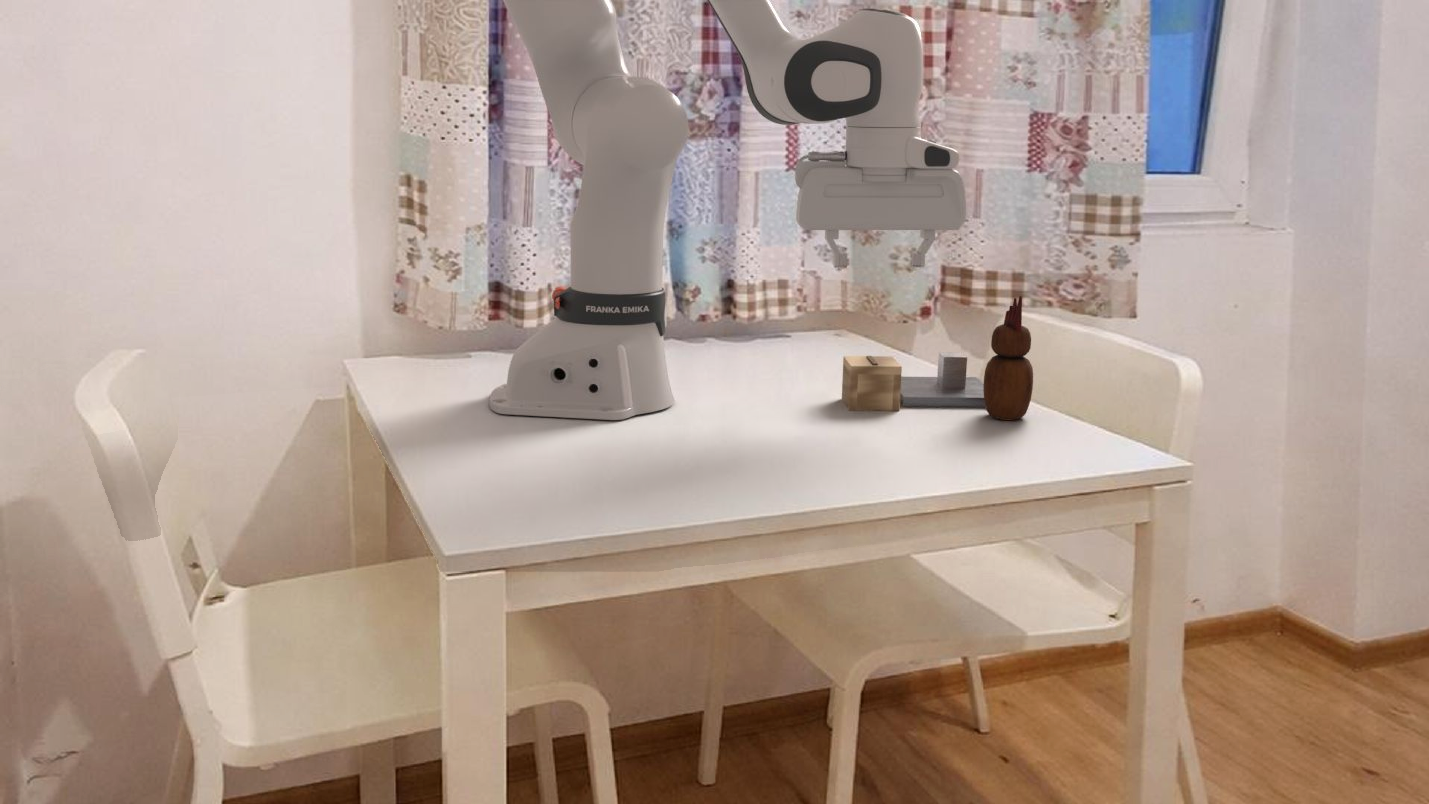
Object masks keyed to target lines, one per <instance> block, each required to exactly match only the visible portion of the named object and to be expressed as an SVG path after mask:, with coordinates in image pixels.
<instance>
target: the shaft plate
mask: <svg viewBox="0 0 1429 804" xmlns="http://www.w3.org/2000/svg"><path fill="white" fill-rule="evenodd" d="M967 365H968V356H966V355H965V353H963V352H947V351H946V352H941V351H940V352H938V361H937V376H901V391H900V405H901V406H903V408H904V407H908V408H909V407H915V408H916V407H918V408H919V407H923V408H927V407H930V408H931V407H932V408H935V407H937V408H938V407H939V408H941V407H942V408H986V406H985V400H984V389H983V386H984V382H982V381H981V380H980V379H979V378H977V376H967V370H968V369H967V368H968V367H967Z"/></svg>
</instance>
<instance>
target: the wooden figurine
mask: <svg viewBox="0 0 1429 804" xmlns="http://www.w3.org/2000/svg"><path fill="white" fill-rule="evenodd" d="M1022 311H1023V296H1022V295H1020V296H1019V297H1018V300H1017V297H1014V298H1013V303H1012V305H1009V309H1008V310H1006V312H1005V317H1004V322H1003V324H1000V325H998V326H996V327H995V329H993V332H992V335H991V340H990V341H991V342H990V346H991V347H990V348H991V350H992V351H993V352H994V353H995V354H996V355H994V356H992V357H991V358H990V359H989V360H988V362H987V363H986V367H985V369H984V376H983V384H984V386H983V389H984V400H985V406H986V407H985V409H986V410H985V411H986V412H987V413H988V415H989V416H990V417H992V418H995V419H998V420H1002V421H1015V420H1019V419H1021V418H1023V417H1024V416H1025V415H1026V414H1027V412H1028V410H1029V406H1030V403H1031V399H1032V394H1033V390H1034V370H1033V366H1032V363H1031V362H1030V360H1029V359H1028V358H1026V355H1027V354H1028V353H1029V352H1030V350H1031V347H1032V336H1031V334H1032V333H1031V331H1030V330H1029V328H1028V327H1026V326H1023V325H1022V320H1023V319H1022V314H1023V312H1022Z"/></svg>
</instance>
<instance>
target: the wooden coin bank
mask: <svg viewBox="0 0 1429 804" xmlns="http://www.w3.org/2000/svg"><path fill="white" fill-rule="evenodd" d="M842 357H843V361H842V363H843V364H842V382H841V383H842V385H841V386H842V387H841V399H842V401H843V403H844V405H845V406H846V408H847V409H848V411H887V412H889V411H891V412H892V411H900V408H901V407H900V405H901V403H900V391H901V377H902V371H903V367H902V365H901V364H900V363H899V362H898V361H897V359H895V357H894V356H884V355H883V356H881V355H880V356H878V355H877V356H876V355H873V356H872V355H864V356H863V355H856V356H855V355H843V356H842Z"/></svg>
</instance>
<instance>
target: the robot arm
mask: <svg viewBox="0 0 1429 804" xmlns="http://www.w3.org/2000/svg"><path fill="white" fill-rule="evenodd" d="M502 1H503V3H504V5H505V7H506V9H507V12H508V14H509V16H510V17H511V20H512V21H513V24H514V25H515V28H516V30H517V32H518V34H519V36H520V38H521V40H522V42H523V44H524V47H525V48H526V51H527V53H528V55H529V58H530V60H531V64H532V66H533V69H534V72H535V75H536V78H537V82H538V85H539V87H540V91H541V94H542V97H543V101H544V103H545V106H546V108H547V111H548V114H549V117H550V120H551V128H552V131H553V135H554V137H555V140H556V141H557V143H558V144H559V146H560V147H561V149H562V150H563V151H564V152H565V153H566V154H567V155H568V156H569V157H570V158H571V159H573V160H574V161H575V162H576V163H578V164H579V165H582V166H583V171H582V178H581V184H580V190H579V196H578V200H577V205H576V209H575V212H574V214H573V215H572V218H571V221H570V226H569V227H570V237H569V238H570V286H569V287H565V286H561V285H560V286H556V287H555V288H554V290H553V291H552V294H551V299H552V301H553V316H554V317H556V318H554V319H553V320H551V321H550V322H548V323H547V324H546V325H545V326H544V327H542V328H540V330H538V331H537V332H536V333H535V334H533V335H532V336H531V337H529V338H528V339H527V340H526V341H524V342H523V343H522V344H521V345H520V346H519V347H517V348H516V350H515V352H514V353H513V354H512V358H511V360H510V363H509V366H508V371H507V380H506V383H504V384H501V385H499V386H497V387H496V388H494V389H493V390H492V391H491V393H490V395H489V403H488V405H489V408H490V409H491V410H492V411H493V412H495V413H497V414H501V415H514V416H531V417H532V416H533V417H548V418H549V417H550V418H551V417H553V418H569V419H571V418H572V419H588V420H606V421H620V420H625V419H628V418H632V417H634V416H636V415H642V414H648V413H654V412H657V411H658V412H659V411H661V410H664V409H667V408H669V407H671V406H672V405H673V404H675V398H674V394H673V389H672V388H671V383H670V378H669V373H668V372H669V371H668V367H667V366H668V365H667V361H666V360H667V358H666V353H665V352H666V350H665V342H664V340H665V339H664V335H665V334H666V329H667V320H668V319H667V317H668V315H667V311H668V306H667V305H668V300H667V295H666V289H665V287H663V262H664V261H663V259H664V257H663V253H664V252H663V251H664V227H665V226H664V225H665V217H666V212H667V211H666V210H667V206H668V200H669V197H670V196H669V195H670V191H671V186H672V183H673V178H674V173H675V168H676V165H677V160H678V158H679V157H680V155H681V154H682V152H683V150H684V148H685V146H686V143H687V140H688V137H689V136H688V135H689V120H688V118H689V117H688V114H687V112H686V109H685V107H684V105H683V103H682V102H681V100H680V99H679V98H678V97H677V96H676V95H675V94H674V93H673V92H672V91H671V90H669V89H668V88H666V87H665V86H663V85H662V84H660V83H658V82H657V81H655V80H653V79H650V78H647V77H642V76H632V75H631V73H630V71H629V69H628V67H627V65H626V61H625V57H624V54H623V50H622V46H621V42H620V38H619V34H618V28H617V27H618V26H617V21H618V19H617V17H618V16H617V11H616V8H615V6H614V4H613V2H612V0H502ZM706 1H707V3H708V5H709V6H710V8H711V9H712V11H713V14H714V15H715V17H716V18H717V19H718V21H719V23H720V25H721V27H722V28H723V30H724V31H725V34H726V36H727V37H728V38H729V40H730V42H731V43H732V46H733V47H734V49H735V50H736V52H737V54H738V56H739V59H740V61H741V65H742V68H743V69H742V70H743V74H744V80H745V85H746V90H747V93H748V97H749V99H750V102H751V104H752V105H753V107H754V108H755V109H756V111H757V112H758V113H759V114H760V115H761V116H762V117H763V118H764V119H766V120H767V121H769V122H772V123H774V124H778V125H781V126H782V125H783V126H791V125H793V126H794V125H798V124H806V125H807V124H808V125H811V124H812V125H813V124H815V125H817V124H827V123H831V122H834V121H837V120H840V119H845V121H846V123H845V124H846V127H845V129H846V130H845V150H844V151H841V150H840V151H827V152H825V151H823V152H821V151H809V152H808V153H807V154H806V155H802V156H801V157H800V158H799V159H798V160H797V162H796V165H795V167H794V169H795V173H794V174H795V175H794V181H795V184H796V186H797V187H798V189H799V191H798V196H797V203H796V214H795V215H796V216H795V220H796V221H795V222H796V223H797V224H798V226H799V227H800V228H801V229H802V230H803V231H824V239H825V240H826V242H827V245H828V246H829V248H830V250H831V252H832V254H833V256H832V257H833V259H832V262H833V263H832V264H833V268H835V269H845V268H846V269H847V267H848V262H847V260H848V253H847V252H846V251H840V249H839V246H838V245H837V244H836V242H835V240H839V237H840V236H839V233H840V231H919V233H920V235H919V236H920V238H922V239H923V241H922V242H921V244H920V245H919V247H918V249H917V250H916V251H910V255H909V256H910V257H909V258H910V260H909V264H910V265H909V266H910V267H911V268H913V269H915V268H916V269H917V268H918V269H919V268H920V269H923V268H925V266H926V265H925V263H926V254H927V253H928V252H929V250H930V248H931V246H932V245H933V243H934V242H935V240H936V231H959V230H960V229H961V228H962V227H963V226H964V225H965V223H966V219H967V210H966V209H967V201H966V190H965V183H964V179H963V177H962V175H961V174H960V173H959V172H958V171H957V170H956V169H955V168H957V167H958V166H959V162H960V154H959V151H957V150H955V149H954V148H951V147H948V146H947V145H946V146H945V145H942V144H939V143H937V142H936V141H934V140H930V139H923V138H922V121H921V117H920V111H919V105H920V99H921V97H922V93H923V89H924V51H923V39H922V33H921V29H920V26H919V24H918V22H917V21H916V20H915V19H914V18H913V17H911V16H909V15H907V14H906V13H901V12H899V11H894V10H891V9H880V8H863V9H858V10H857V11H856V12H855V13H854V15H852V16H851V17H850V18H849V19H847V20H846V21H844V22H842V23H841V24H839V25H837V26H835V27H833V28H831V29H829V30H827V31H825V32H823V33H820V34H817V35H815V36H813V37H810V38H805V39H801V38H799V37H797V36H796V35H794V34H792V33H791V32H790V31H789V30H788V29H787V28H786V27H785V26H784V24H783V22H782V21H781V19H780V17H779V16H778V13H777V12H776V9H774V6H773V5H772V3H771V2H770V0H706ZM806 159H807V160H806Z"/></svg>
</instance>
